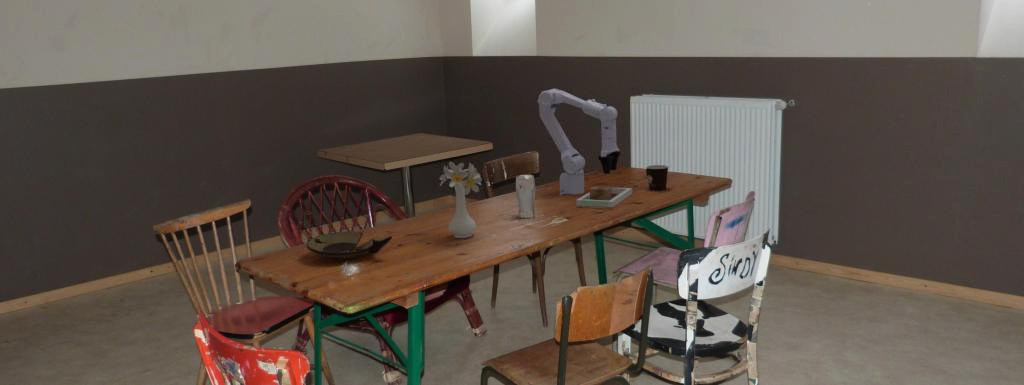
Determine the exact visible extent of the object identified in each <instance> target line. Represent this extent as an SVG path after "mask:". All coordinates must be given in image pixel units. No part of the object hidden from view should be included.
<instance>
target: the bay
mask: <svg viewBox="0 0 1024 385" xmlns="http://www.w3.org/2000/svg"><path fill="white" fill-rule="evenodd" d="M610 187H611V195H612V194H614V195H616V196H614V197H612V199H611V200H610V201H607V200H590V191H589V192H587V193H586V194H584V195H582V196H581V197H579V198H577V199H576V208H577V209H589V207H591V209H594V210H595V209H597V210H608V208H609V210H614V208H615V206H616V205H618V204H619V203H621V202H622V201H624V200H625V199H626V198H629V197H630V196H631V195H632V194H633V188H632V187H612V186H610ZM613 207H614V208H613Z"/></svg>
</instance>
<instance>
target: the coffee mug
mask: <svg viewBox="0 0 1024 385" xmlns="http://www.w3.org/2000/svg"><path fill="white" fill-rule="evenodd" d="M668 172H669V165H664V164H653V165H652V164H651V165H647V166H646V169H645V174H646V177H647V181H648V189H649V191H652V192H653V191H654V192H661V191H666V189H667V181H668Z"/></svg>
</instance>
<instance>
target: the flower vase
mask: <svg viewBox="0 0 1024 385" xmlns="http://www.w3.org/2000/svg"><path fill="white" fill-rule="evenodd" d="M464 167H465V163H464V162H460V163H459V164H457V165H456V164H455V163H454V162H452V161H448V165H447V166H446V165H443V174H441V175H440V176H439V180H440V181H441V182H440V184H439V187H441V186H442V185H443V184H444V183H445V182H446V181H447V180H448V179H450V182H449V183H448V185H449V186H448V187H450V188H453V187H454V189H455V190H454V191H455V201H456V202H455V203H456V206H455V208H456V209H455V214H454V216H453V218H452V219H451V220H450V222H449V224H448V230H449V231H450V233H451V234H453V237H454V238H455V239H468V238H471V237H472V236H473V233H474V232H475V230H476V229H477V223H476V221H475V219H473V218H472V217H471V216H470V214H469V213H468V210H467V204H466V195H468V194H469V193H471V190H472V191H473V192H475V193H479V192H480V189H479V186H478V185H480V186H481V185H482V183H481V182H482V180H483V178H482V177H481V174H480V173H479V172H478V169H477V168H475V166H474V164H472V163H471V162H469V164H468V168H465V169H463V168H464ZM477 184H478V185H477Z"/></svg>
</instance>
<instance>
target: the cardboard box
mask: <svg viewBox="0 0 1024 385" xmlns="http://www.w3.org/2000/svg"><path fill="white" fill-rule="evenodd" d="M611 187H612V186H594V185H593V186H591V188H589V192H590V200H607V201H610V200H611V199H613V197H612V194H611Z"/></svg>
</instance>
